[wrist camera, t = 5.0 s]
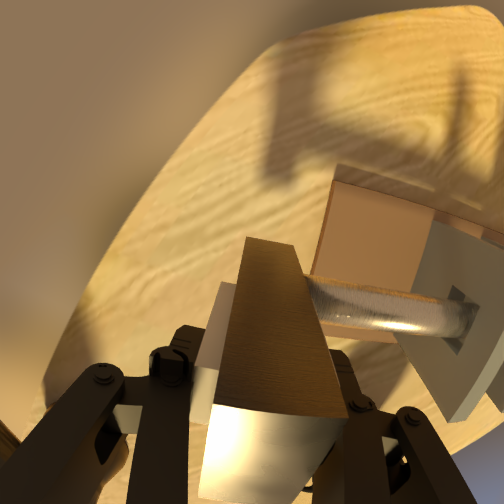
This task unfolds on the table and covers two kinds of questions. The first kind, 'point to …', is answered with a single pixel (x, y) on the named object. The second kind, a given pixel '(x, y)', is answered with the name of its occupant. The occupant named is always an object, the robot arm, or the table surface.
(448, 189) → the table surface
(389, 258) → the bearing block
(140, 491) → the robot arm
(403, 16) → the table surface
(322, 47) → the table surface
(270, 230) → the table surface
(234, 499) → the shaft
